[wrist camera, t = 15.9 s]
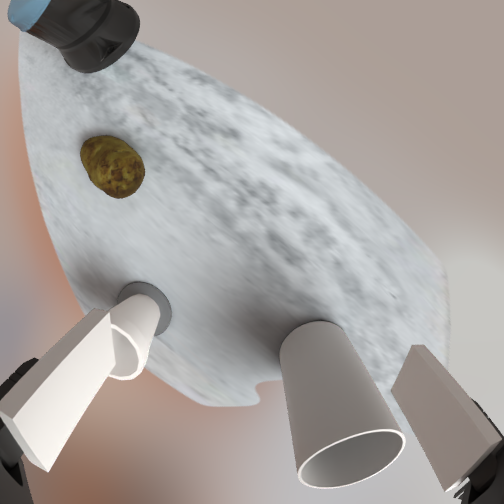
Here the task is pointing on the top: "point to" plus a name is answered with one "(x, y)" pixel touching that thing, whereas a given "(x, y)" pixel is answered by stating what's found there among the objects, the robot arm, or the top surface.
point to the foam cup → (132, 334)
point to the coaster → (156, 296)
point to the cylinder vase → (335, 409)
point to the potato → (112, 165)
